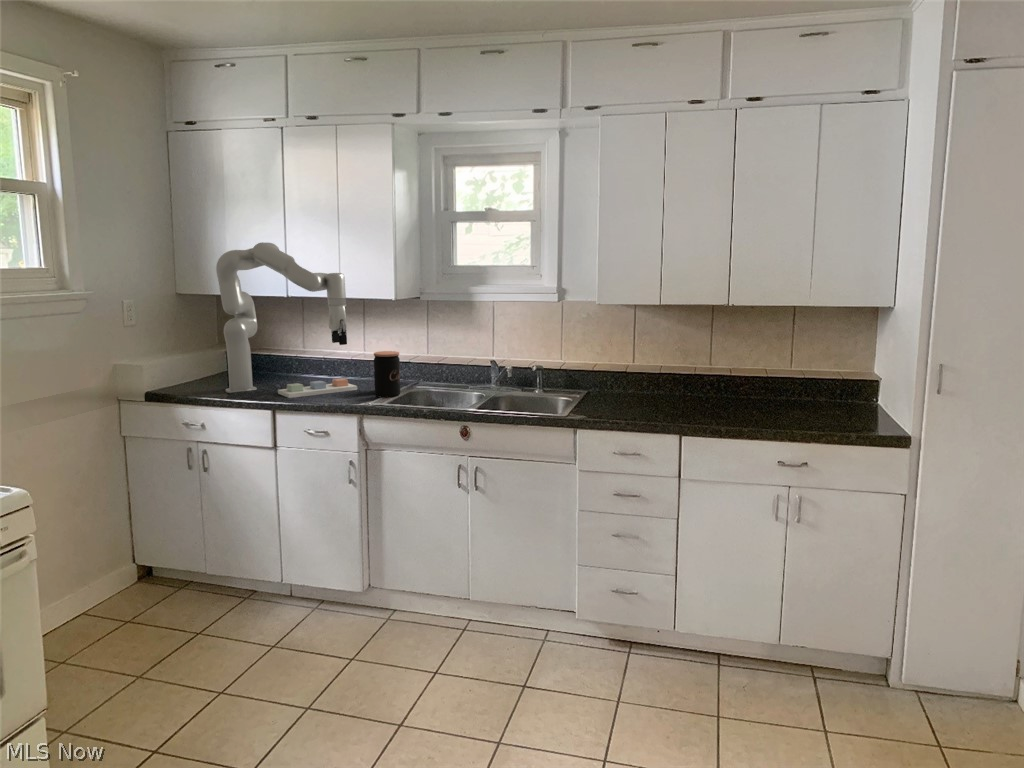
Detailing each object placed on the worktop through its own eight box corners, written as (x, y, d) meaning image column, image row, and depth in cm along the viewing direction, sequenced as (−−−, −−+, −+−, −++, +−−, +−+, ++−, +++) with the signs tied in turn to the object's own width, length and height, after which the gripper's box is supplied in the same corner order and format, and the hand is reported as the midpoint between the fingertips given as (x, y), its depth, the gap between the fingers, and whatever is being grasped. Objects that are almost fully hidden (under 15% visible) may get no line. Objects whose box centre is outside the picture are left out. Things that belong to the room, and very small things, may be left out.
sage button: (287, 393, 313) (286, 384, 313) (298, 392, 316) (298, 383, 316) (291, 395, 310) (291, 386, 309) (303, 394, 313) (303, 384, 312)
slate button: (310, 391, 319) (309, 381, 319) (321, 389, 322) (321, 380, 322) (315, 393, 316) (314, 383, 315) (326, 391, 319) (325, 382, 318)
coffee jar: (393, 398, 312) (391, 354, 309) (370, 396, 316) (368, 353, 313) (404, 393, 322) (403, 351, 319) (382, 392, 326) (381, 350, 322)
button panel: (278, 396, 315) (277, 389, 314) (345, 388, 333) (344, 382, 332) (289, 401, 306) (288, 394, 305) (357, 393, 324) (357, 386, 323)
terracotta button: (332, 388, 325) (332, 379, 325) (343, 387, 328) (342, 378, 328) (337, 390, 322) (337, 381, 321) (348, 389, 325) (348, 379, 324)
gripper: (322, 302, 322) (324, 342, 325) (334, 304, 308) (337, 346, 311) (339, 301, 326) (341, 341, 329) (352, 303, 311) (354, 344, 314)
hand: (339, 343), depth 320 cm, fingers open, 9 cm apart
